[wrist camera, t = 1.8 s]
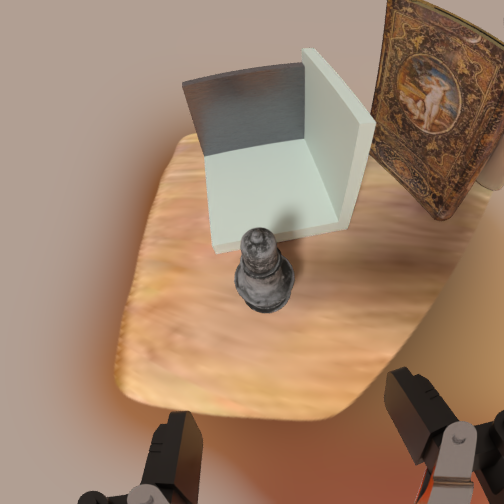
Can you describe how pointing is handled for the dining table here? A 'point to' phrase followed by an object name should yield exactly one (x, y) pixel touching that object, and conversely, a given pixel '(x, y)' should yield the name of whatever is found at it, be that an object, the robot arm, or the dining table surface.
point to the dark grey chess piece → (263, 272)
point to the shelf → (280, 149)
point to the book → (436, 103)
